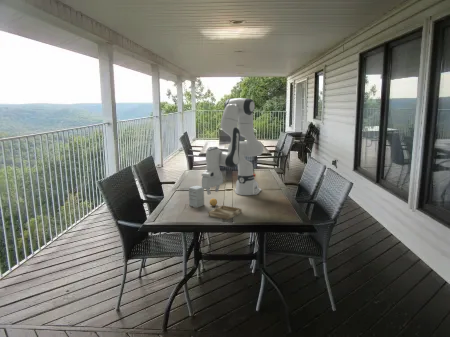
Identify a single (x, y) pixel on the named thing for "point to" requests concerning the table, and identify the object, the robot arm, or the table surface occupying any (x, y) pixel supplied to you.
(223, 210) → the tray
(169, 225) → the table surface
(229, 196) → the table surface
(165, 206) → the table surface
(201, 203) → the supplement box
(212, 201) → the ball
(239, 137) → the robot arm
